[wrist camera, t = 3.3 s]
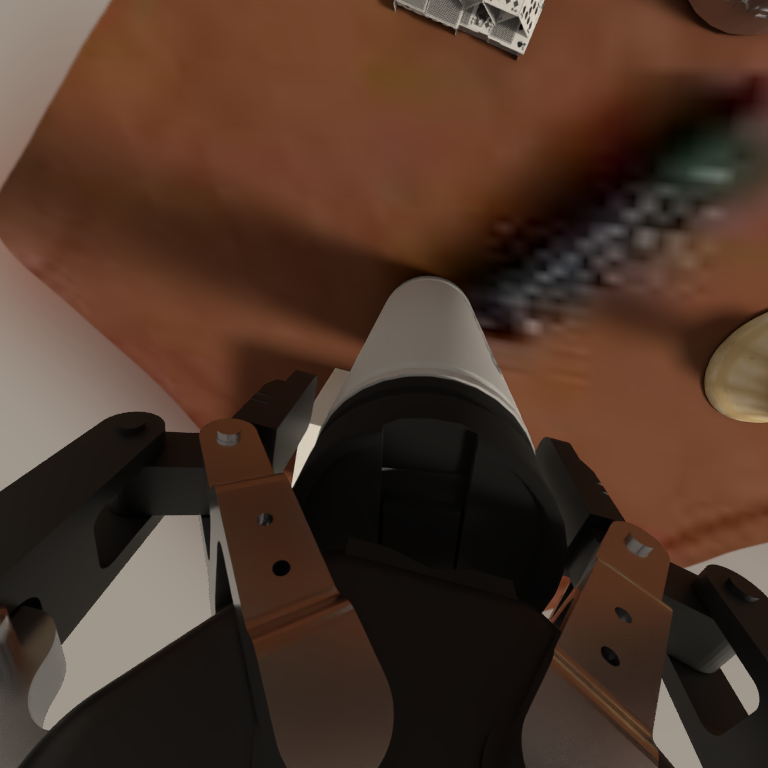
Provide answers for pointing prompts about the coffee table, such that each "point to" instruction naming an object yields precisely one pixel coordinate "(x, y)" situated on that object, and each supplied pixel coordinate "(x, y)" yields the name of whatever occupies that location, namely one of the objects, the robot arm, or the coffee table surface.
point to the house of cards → (484, 19)
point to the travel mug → (434, 452)
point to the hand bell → (741, 373)
